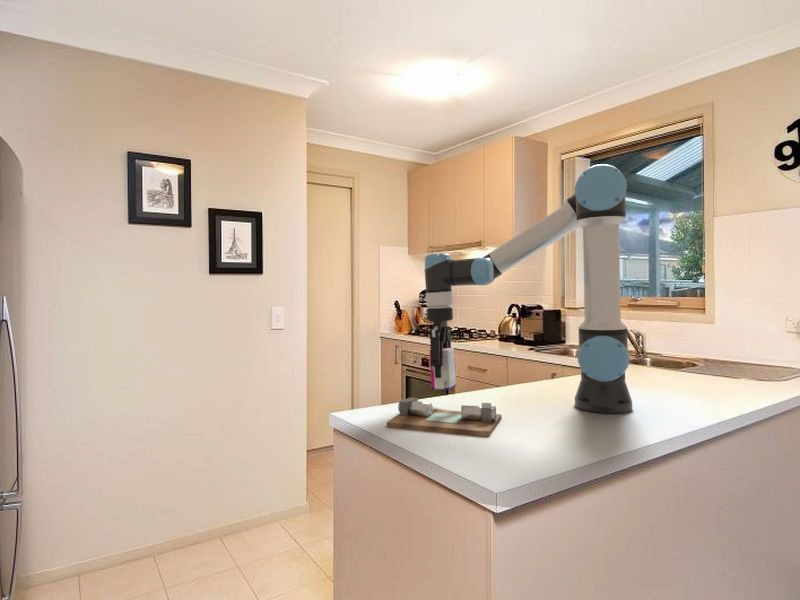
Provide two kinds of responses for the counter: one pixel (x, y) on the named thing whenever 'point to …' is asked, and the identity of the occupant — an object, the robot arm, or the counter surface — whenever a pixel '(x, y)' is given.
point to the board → (445, 423)
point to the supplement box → (446, 369)
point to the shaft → (414, 408)
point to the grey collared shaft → (479, 413)
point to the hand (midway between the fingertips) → (442, 386)
